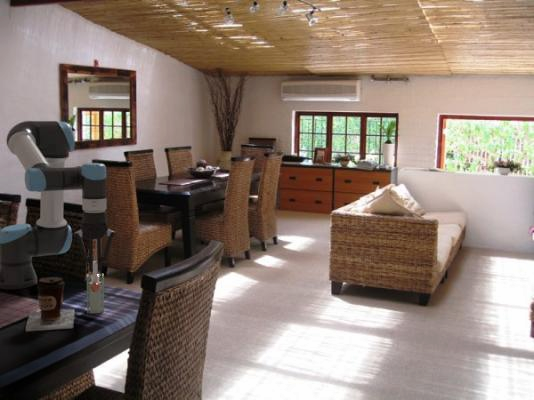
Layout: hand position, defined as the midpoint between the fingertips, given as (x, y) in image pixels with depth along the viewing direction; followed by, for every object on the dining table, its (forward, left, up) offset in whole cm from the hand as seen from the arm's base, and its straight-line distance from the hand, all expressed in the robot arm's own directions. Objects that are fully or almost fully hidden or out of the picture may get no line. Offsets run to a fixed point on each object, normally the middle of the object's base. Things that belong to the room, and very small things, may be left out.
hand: (95, 281), depth 192 cm
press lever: (-2, 0, -3) cm, 3 cm away
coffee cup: (0, -14, -12) cm, 18 cm away
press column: (-8, 0, -13) cm, 16 cm away
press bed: (0, -14, -13) cm, 19 cm away
